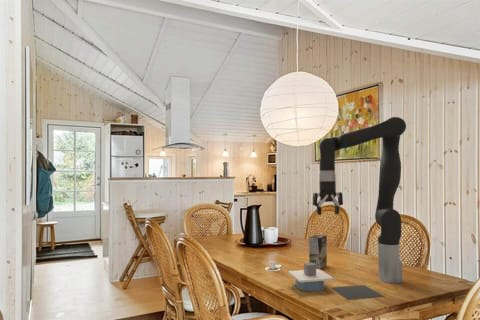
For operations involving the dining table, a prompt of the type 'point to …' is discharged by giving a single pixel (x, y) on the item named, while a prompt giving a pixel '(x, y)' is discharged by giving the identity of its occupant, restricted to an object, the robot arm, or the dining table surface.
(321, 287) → the bowl
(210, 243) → the dining table surface
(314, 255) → the coffee box
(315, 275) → the lid
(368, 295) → the mat
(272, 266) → the teacup and saucer
